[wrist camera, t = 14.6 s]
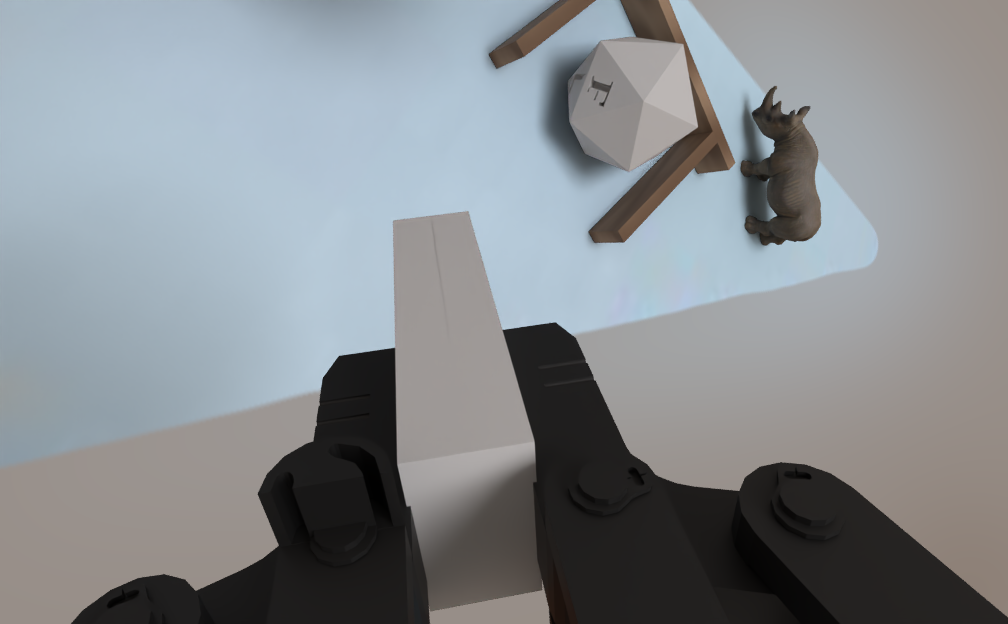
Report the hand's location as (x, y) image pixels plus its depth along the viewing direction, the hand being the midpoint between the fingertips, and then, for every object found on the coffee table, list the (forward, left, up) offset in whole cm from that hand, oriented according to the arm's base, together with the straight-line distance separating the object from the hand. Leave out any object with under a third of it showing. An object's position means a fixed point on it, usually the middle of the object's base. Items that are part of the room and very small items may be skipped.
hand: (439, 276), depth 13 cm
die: (+7, +25, -23) cm, 35 cm away
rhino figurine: (+21, +39, -23) cm, 50 cm away
